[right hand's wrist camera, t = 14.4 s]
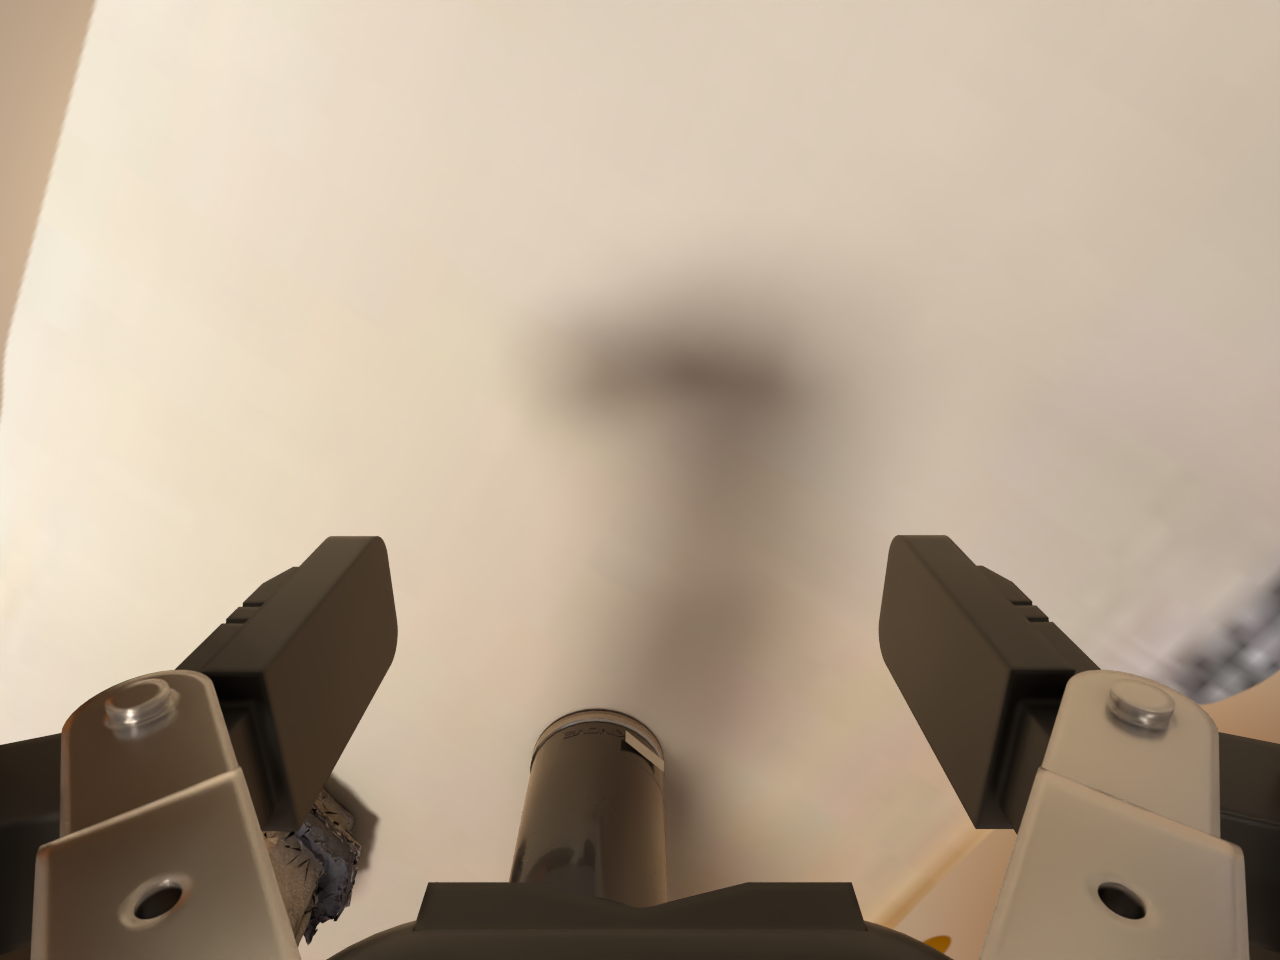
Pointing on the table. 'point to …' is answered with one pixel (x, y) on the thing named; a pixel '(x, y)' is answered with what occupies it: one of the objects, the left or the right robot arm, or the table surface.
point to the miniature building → (315, 867)
